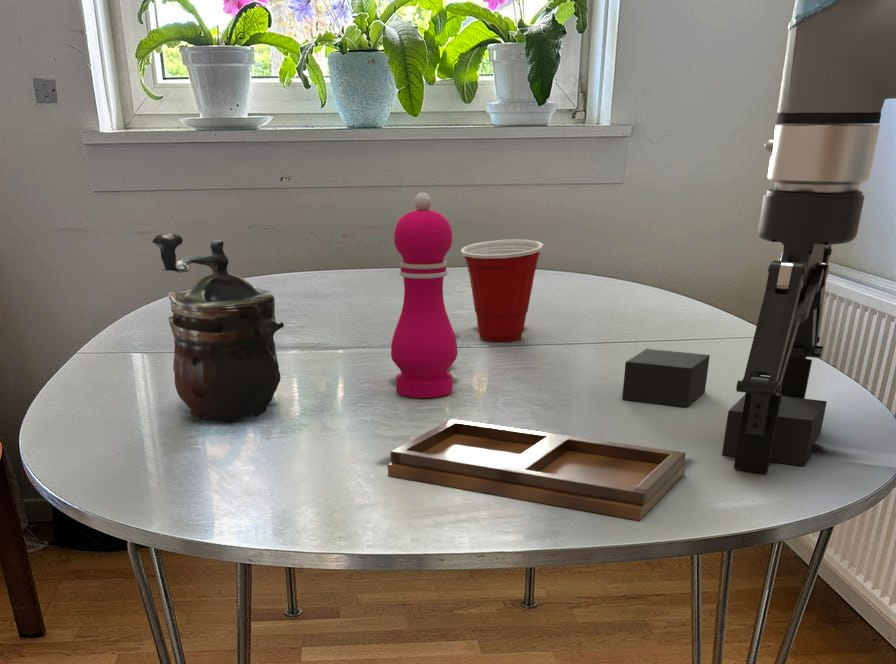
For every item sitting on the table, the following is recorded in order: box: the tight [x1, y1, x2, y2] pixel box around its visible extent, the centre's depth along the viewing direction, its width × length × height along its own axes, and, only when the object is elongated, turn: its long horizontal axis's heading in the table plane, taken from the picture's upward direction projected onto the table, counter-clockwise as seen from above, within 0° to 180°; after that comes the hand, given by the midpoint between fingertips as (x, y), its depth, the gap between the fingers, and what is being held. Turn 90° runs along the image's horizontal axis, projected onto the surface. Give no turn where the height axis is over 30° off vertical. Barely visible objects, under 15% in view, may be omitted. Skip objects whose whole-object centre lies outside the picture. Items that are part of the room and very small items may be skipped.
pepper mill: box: [390, 192, 458, 399], centre depth 100 cm, size 7×7×20 cm
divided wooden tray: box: [387, 418, 687, 521], centre depth 80 cm, size 22×12×2 cm, turn 60°
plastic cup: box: [460, 239, 544, 342], centre depth 127 cm, size 11×11×12 cm
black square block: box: [721, 393, 828, 467], centre depth 84 cm, size 7×7×4 cm
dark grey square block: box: [621, 348, 711, 408], centre depth 101 cm, size 7×7×4 cm
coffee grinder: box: [152, 233, 285, 424], centre depth 93 cm, size 13×15×18 cm
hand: (767, 448), depth 85 cm, fingers open, 13 cm apart
